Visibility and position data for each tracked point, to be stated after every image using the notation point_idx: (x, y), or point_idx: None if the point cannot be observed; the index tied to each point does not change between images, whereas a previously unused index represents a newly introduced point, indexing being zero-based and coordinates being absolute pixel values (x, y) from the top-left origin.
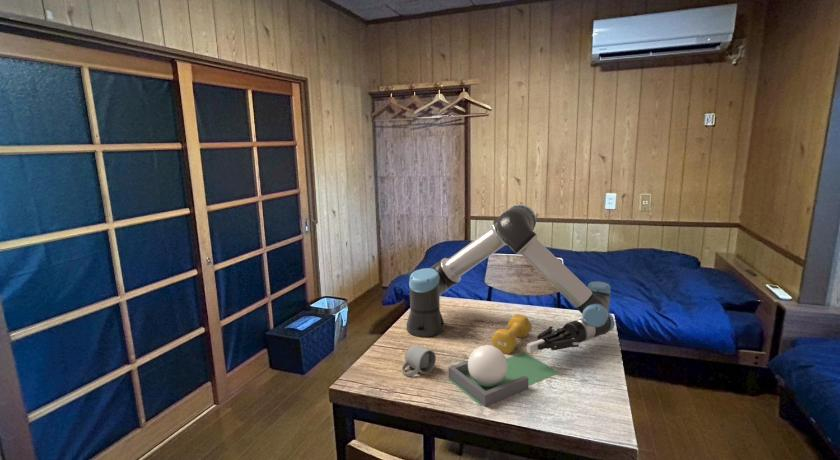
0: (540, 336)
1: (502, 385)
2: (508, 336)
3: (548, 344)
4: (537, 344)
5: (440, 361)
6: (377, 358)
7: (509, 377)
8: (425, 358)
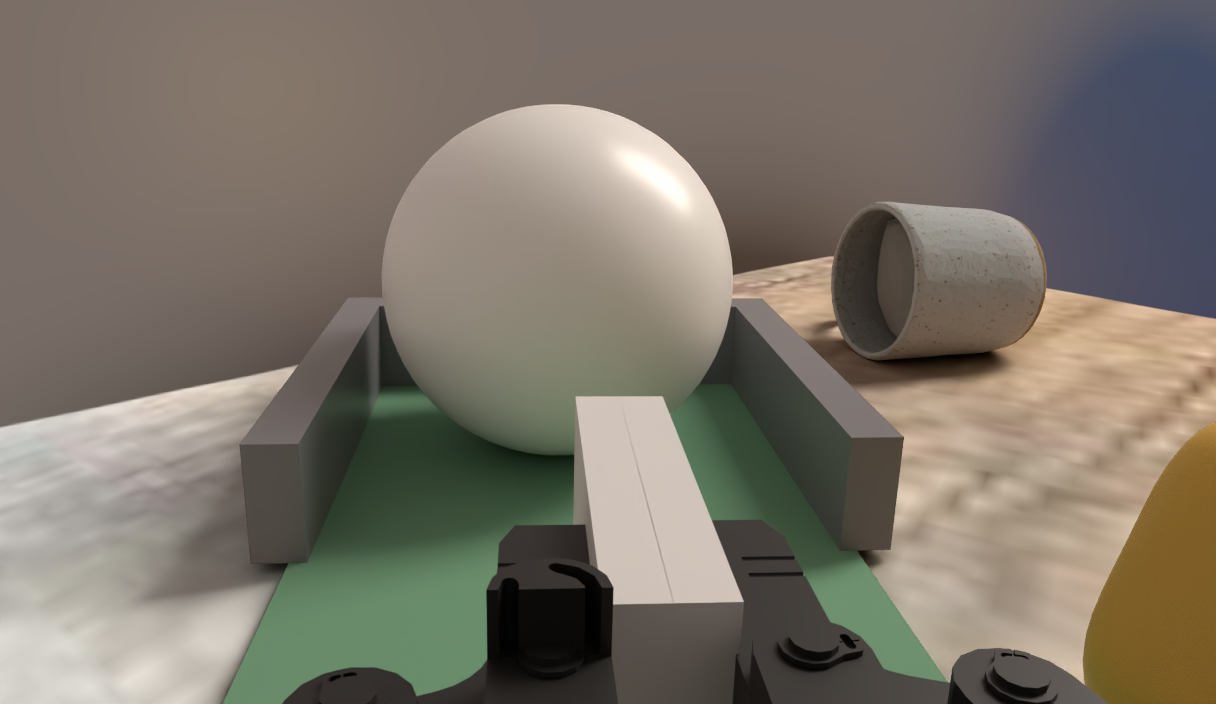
0: (952, 686)
1: (343, 345)
2: (1171, 463)
3: (472, 698)
4: (584, 504)
5: (1008, 406)
6: (1086, 308)
7: None
8: (895, 266)
